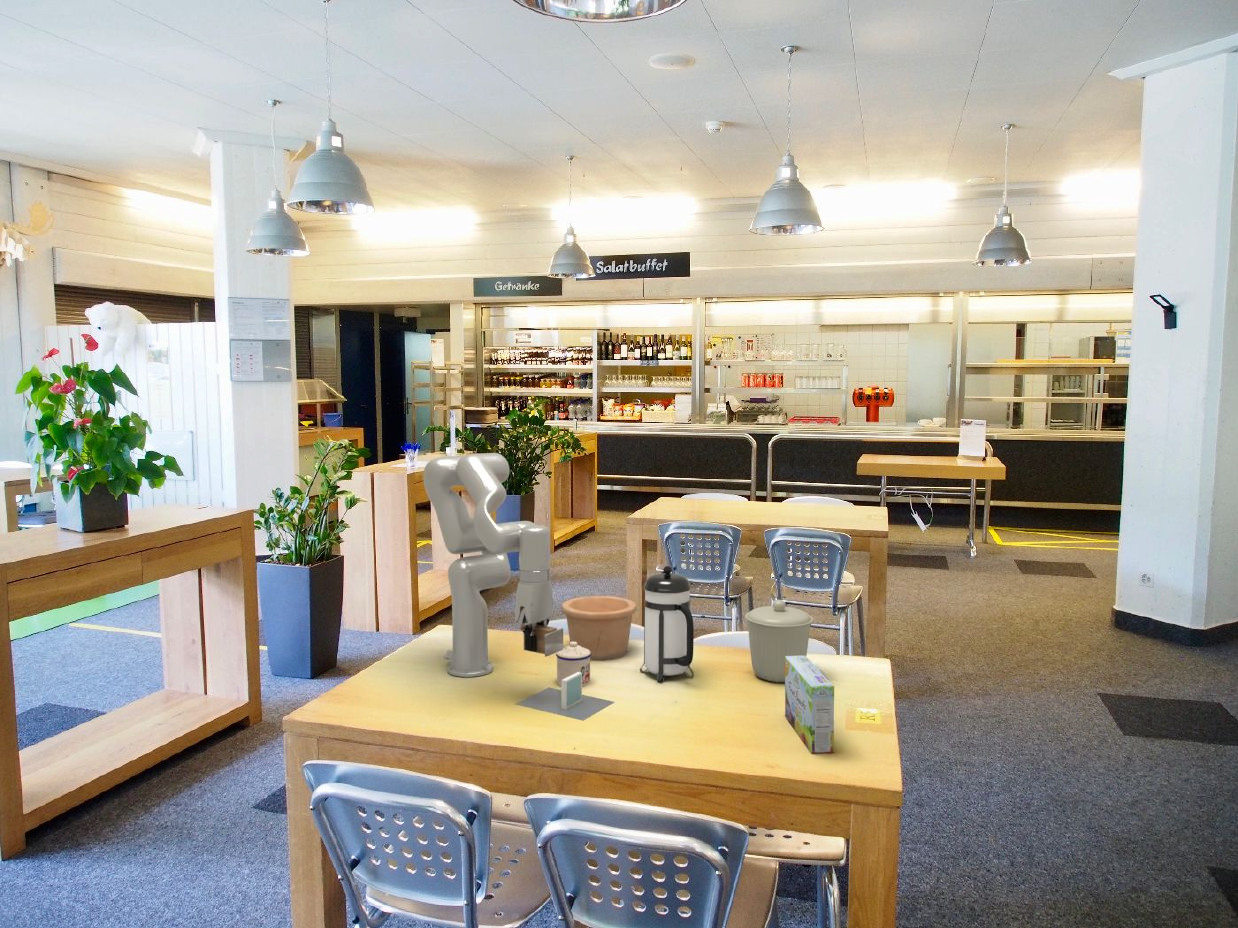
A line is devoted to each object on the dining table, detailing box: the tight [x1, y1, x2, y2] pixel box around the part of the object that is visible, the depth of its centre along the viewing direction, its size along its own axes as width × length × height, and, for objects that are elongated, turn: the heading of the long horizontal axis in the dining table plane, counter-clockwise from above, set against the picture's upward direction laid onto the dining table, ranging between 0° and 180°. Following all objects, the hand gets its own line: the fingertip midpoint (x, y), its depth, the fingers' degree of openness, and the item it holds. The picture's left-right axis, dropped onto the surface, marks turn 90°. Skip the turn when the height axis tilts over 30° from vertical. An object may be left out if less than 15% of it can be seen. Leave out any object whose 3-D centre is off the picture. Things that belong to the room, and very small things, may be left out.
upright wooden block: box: [523, 624, 564, 657], centre depth 212 cm, size 8×7×6 cm
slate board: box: [515, 687, 615, 721], centre depth 210 cm, size 20×14×1 cm
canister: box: [744, 599, 814, 683], centre depth 232 cm, size 18×18×21 cm
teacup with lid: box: [555, 641, 591, 688], centre depth 226 cm, size 12×9×12 cm
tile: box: [560, 672, 583, 709], centre depth 208 cm, size 1×7×7 cm, turn 149°
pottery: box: [561, 595, 638, 661], centre depth 254 cm, size 22×22×14 cm
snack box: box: [784, 655, 835, 755], centre depth 193 cm, size 21×6×15 cm, turn 5°
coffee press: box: [639, 565, 695, 684], centre depth 232 cm, size 17×16×30 cm
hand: (535, 648), depth 213 cm, fingers closed on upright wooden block, 3 cm apart
